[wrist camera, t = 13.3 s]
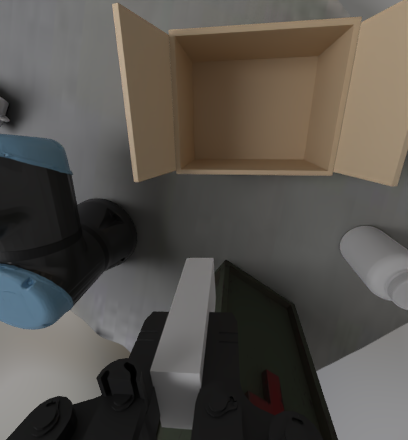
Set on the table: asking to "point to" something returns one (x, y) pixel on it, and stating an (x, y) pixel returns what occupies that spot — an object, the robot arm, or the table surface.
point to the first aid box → (268, 352)
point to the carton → (261, 96)
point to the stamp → (3, 111)
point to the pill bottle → (378, 262)
